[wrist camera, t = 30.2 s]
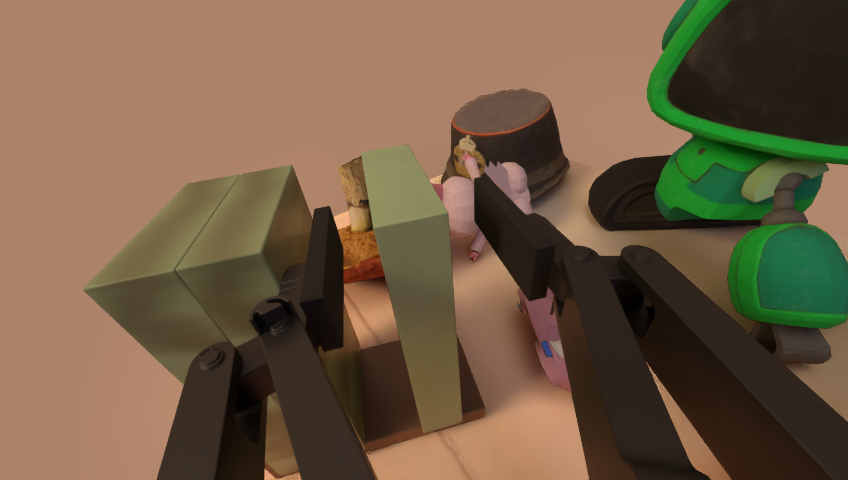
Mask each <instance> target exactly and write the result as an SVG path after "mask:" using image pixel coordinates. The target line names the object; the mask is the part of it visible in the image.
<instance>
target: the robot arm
mask: <svg viewBox="0 0 848 480" xmlns="http://www.w3.org/2000/svg"><path fill="white" fill-rule="evenodd" d="M474 222H475V223H476V224H477V226H478V227H479V229H480V230H481V232H482V233H483V235H484V236H485V238H486V239H487V241H488V242H489V244H490V245H491V246H492V248H493V249H494V251H495V252H496V254H497V255H498V257H499V258H500V260H501V261H502V263H503V264H504V265H505V267H506V268H507V270H508V271H509V273H510V274H511V276H512V277H513V279H514V280H515V282H516V283H517V285H518V286H519V287H520V289H521V290H522V292H523V293H524V295H525V296H526V298H527V299H528V301H533V300H537V299H541V298H545V297H546V295H547V290H548V287H549V289H550V290H551V291H552V292H553V294H554V296H553V301H552V306H551V310H550V315H553V313H554V311H555V316H556V321H557V326H558V331H559V335H560V340H561V345H562V350H563V355H564V359H565V364H566V369H567V374H568V379H569V383H570V388H571V393H572V398H573V403H574V407H575V412H576V417H577V422H578V427H579V432H580V436H581V441H582V446H583V451H584V456H585V460H586V465H587V470H588V475H589V480H711V479H710V478H709V477H708V476H706V475H705V474H703V473H701V472H699V471H698V470H696V469H695V468H694V467H693V465H692V464H691V462H690V460H689V459H688V456H687V454H686V452H685V450H684V447H683V445H682V443H681V441H680V438H679V436H678V434H677V431H676V429H675V427H674V425H673V422H672V420H671V418H670V415H669V413H668V411H667V409H666V406H665V404H664V402H663V399H662V397H661V395H660V393H659V390H658V388H657V386H656V384H655V381H654V379H653V377H652V374H651V372H650V370H649V368H648V365H649V366H650V367H651V369H652V370H653V371H654V373H655V374H656V376H657V377H658V378H659V380H660V381H661V383H662V384H663V385H664V387H665V388H666V389H667V391H668V392H669V394H670V395H671V396H672V398H673V399H674V400H675V402H676V403H677V405H678V406H679V407H680V409H681V410H682V412H683V413H684V414H685V416H686V417H687V418H688V420H689V421H690V423H691V424H692V425H693V427H694V428H695V429H696V431H697V432H698V434H699V435H700V436H701V438H702V439H703V440H704V442H705V443H706V445H707V446H708V447H709V449H710V450H711V452H712V453H713V454H714V456H715V457H716V458H717V460H718V461H719V463H720V464H721V465H722V467H723V468H724V469H725V471H726V472H727V474H728V475H729V476H730V478H731V479H732V480H848V422H847V421H846V420H845V419H844V418H843V417H842V416H841V415H839V414H838V413H837V412H836V411H835V410H834V409H833V408H832V407H830V406H829V405H828V404H827V403H826V402H825V401H824V400H823V399H822V398H820V397H819V396H818V395H817V394H816V393H815V392H814V391H813V390H811V389H810V388H809V387H808V386H807V385H806V384H805V383H804V382H802V381H801V380H800V379H799V378H798V377H797V376H796V375H795V374H794V373H792V372H791V371H790V370H789V369H788V368H787V367H786V366H785V365H783V364H782V363H781V362H780V361H779V360H778V359H777V358H776V357H775V356H773V355H772V354H771V353H770V352H769V351H768V350H767V349H766V348H764V347H763V346H762V345H761V344H760V343H759V342H758V341H757V340H755V339H754V338H753V337H752V336H751V335H750V334H749V333H748V332H747V331H745V330H744V329H743V328H742V327H741V326H740V325H739V324H738V323H736V322H735V321H734V320H733V319H732V318H731V317H730V316H729V315H728V314H726V313H725V312H724V311H723V310H722V309H721V308H720V307H719V306H717V305H716V304H715V303H714V302H713V301H712V300H711V299H710V298H708V297H707V296H706V295H705V294H704V293H703V292H702V291H701V290H700V289H698V288H697V287H696V286H695V285H694V284H693V283H692V282H691V281H689V280H688V279H687V278H686V277H685V276H684V275H683V274H682V273H681V272H679V271H678V270H677V269H676V268H675V267H674V266H673V265H672V264H670V263H669V262H668V261H667V260H666V259H665V258H664V257H663V256H661V255H660V254H659V253H658V252H656V251H655V250H653V249H650V248H648V247H644V246H639V245H630V246H627V247H624V248H623V249H622V250H621V253H620V256H599V255H598V254H597V252H595V251H594V250H592V249H590V248H587V247H584V246H575V245H574V244H573V243H572V242H571V241H569V240H568V239H567V238H566V237H565V236H564V235H563V234H562V233H561V232H560V231H559V230H557V228H555V227H554V226H553V225H551V223H550V222H549V221H548V220H547V219H546V218H545V217H543V216H541V215H538V214H536V213H532V214H527V215H526V214H525V213H524V212H523V211H522V210H521V209H520V208H519V207H518V206H517V205H516V204H515V203H514V202H513V201H512V200H511V199H510V198H509V197H508V196H507V195H506V194H505V193H504V192H503V191H502V190H501V189H500V188H499V187H498V186H497V185H496V184H495V183H494V182H493V181H492V180H491V179H490V178H489V177H488V176H483V177H477V178H474ZM646 298H647V299H648V300H649V301H650V302H651V303H652V305H651V304H650V303H649V302H648V301H647V300H646ZM249 321H250V323H251V324H252V326H253V327H254V329H255V330H256V332H257V333H258V336H257V337H255V338H253V339H251V340H249V341H247V342H245V343H243V344H241V345H239V346H237V347H234V346H233V345H232V344H231V343H230V342H219V343H215V344H213V345H211V346H209V347H207V348H205V349H204V350H203V351H201V352H200V353H199V354H198V355H197V356H196V357H195V358H194V359H193V361H192V362H191V364H190V366H189V369H188V373H187V376H186V379H185V383H184V386H183V390H182V393H181V397H180V400H179V404H178V407H177V411H176V414H175V418H174V421H173V425H172V428H171V432H170V435H169V439H168V442H167V446H166V449H165V453H164V456H163V460H162V463H161V466H160V470H159V473H158V477H157V480H264V470H265V448H266V425H267V403H268V396H269V395H271V394H273V393H275V392H276V394H277V397H278V400H279V404H280V407H281V411H282V414H283V418H284V421H285V424H286V428H287V431H288V435H289V438H290V442H291V445H292V448H293V452H294V455H295V459H296V462H297V466H298V469H299V472H300V476H301V479H302V480H378V479H377V477H376V475H375V472H374V470H373V468H372V466H371V464H370V462H369V460H368V458H367V455H366V453H365V451H364V449H363V447H362V445H361V443H360V441H359V438H358V436H357V434H356V432H355V430H354V428H353V426H352V424H351V421H350V419H349V417H348V415H347V413H346V411H345V409H344V407H343V404H342V402H341V400H340V398H339V396H338V394H337V392H336V389H335V387H334V385H333V383H332V381H331V379H330V377H329V375H328V372H327V370H326V368H325V366H324V364H323V362H322V360H321V358H320V356H319V345H320V346H321V348H322V350H323V352H326V351H330V350H334V349H339V348H343V347H344V248H343V245H342V242H341V239H340V236H339V233H338V230H337V227H336V224H335V221H334V218H333V215H332V212H331V209H330V206H327V207H322V208H317V209H315V210H314V215H313V221H312V228H311V234H310V240H309V246H308V252H307V258H306V262H304V263H299V264H295V265H290V266H289V268H288V269H287V270H286V271H285V273H284V274H283V278H282V282H281V286H280V292H279V294H278V296H272V297H269V298H266V299H265V300H263V301H261V302H260V303H258V304H257V305H256V306H255V307H254V308H253V309H252V311H251V313H250V315H249ZM645 360H646V361H645ZM646 362H647V363H648V365H647V363H646Z"/></svg>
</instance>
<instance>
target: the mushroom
mask: <svg viewBox="0 0 848 480" xmlns="http://www.w3.org/2000/svg"><path fill="white" fill-rule="evenodd" d="M338 170H339V174H340V177H341V181H342V184H343V188H344V191H345V195H346V199H347V205H348V210H349V214H350V221H351V225H349V226H347V227H345V228H342V229H338V233H339V236H340V239H341V242H342V245H343V248H344V284H346V283H351V282H356V281H361V280H367V279H372V278H377V277H381V276H385V274H384V270H383V266H382V262H381V258H380V254H379V250H378V245H377V241H376V237H375V233H374V229H373V223H372V217H371V211H370V205H369V199H368V193H367V187H366V181H365V175H364V169H363V163H362V157H361V156H360V157H359V158H356V159H354V160H352V161H351V162H349V163H347V164H345V165H343V166H341V167H339V168H338Z"/></svg>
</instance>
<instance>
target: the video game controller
mask: <svg viewBox="0 0 848 480" xmlns="http://www.w3.org/2000/svg"><path fill="white" fill-rule="evenodd" d="M518 294H519V297H520V304H519V303H518V302H516V307H517V310H518V311H519V312H520V313H521V314H523V311H524V312H525V313H527V315H528V316H529V318H530V320H531V323H532V326H533V328H534V331H535V334H536V336H537V339H538V341H535V347H536V351H537V354H538V357H539V360H540V363H541V365H542V367H543V369H544V371H545V373H546V375H547V377H548V378H549V380H550V382H551V383H552V385H553V386H560V387H562V388H564V389H565V390H567V391H569V392H571V388H570V383H569V379H568V374H567V369H566V364H565V359H564V355H563V350H562V345H561V340H560V335H559V331H558V326H557V321H556V316H555V311H554V313H553V315H550V310H551V306H552V301H553V296H554V294H553V292H552V291H551V290H550V289H549V288H548V290H547V295H546V297H545V298H541V299H537V300H533V301H528V299H527V298H526V296H525V295H524V293H523V292H522V290H521V289H520V288H519V289H518ZM522 310H523V311H522Z"/></svg>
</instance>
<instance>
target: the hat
mask: <svg viewBox="0 0 848 480" xmlns="http://www.w3.org/2000/svg"><path fill="white" fill-rule="evenodd" d="M465 150H466V152H467V153H468V155H469V156H472V157H473V158H475V159H476V162H477V166H478V169H479V172H480V176H481V177H483V176H488V175H487V174H486V173H485V172H484V168H485V165H486V166H487V167H488V168H489V163H490V161H491V162H492V163H493V164H494V165H495V166H496V167H497V163H498V162H499V163H500V164H503V163H505V162H514V163H517V164H518V165H519V166H521V167H522V168H523V169H524V170H525V173H526V175H527V187H528V190H529V193H530V200H531V199H533V198H535V197H537V196H540V195H541V194H542V192H544V191H545V190H547V189H549V188H551V187H552V186H553V185H555V184H557V183H558V181H559V179H560V177H562V176H563V175H564V174H565V173H566V172H567V171H568V169H569V167H570V163H569V161H568V159H567V158H566V157H565V156H564V153H563V149H562V146H561V142H560V136H559V130H558V126H557V121H556V118H555V114H554V112H553V108H552V105H551V102H550V100H549V99H548V98H547V97H546V96H545V95H544V94H541V93H539V92H533V91H530V90H527V89H520V90H508V91H506V90H504V91H500V92H496V93H494V94H488V95H482V96H479V97H477V98H476V99H475V100H473V101H470V102H468V103H467V104H466V105H464V106H463V107H462V108H460V109H459V111H457V112H456V113H455V115H454V117H453V120H452V124H451V156H450V158H449V160H448V161H447V165H446V170H445V172H444V174H443V176H442V178H441V184H443V183H444V182H445V181H446V180H448V179H449V178H451V177H454V176H456V177H463V178H468V179H470V180H471V177H470V175H469V173H468V171H467V168H466V166H465V164H464V163H465V161H464V160H463V159H462V158H464V157H463V155H462V154H464V155H466V154H465ZM461 157H462V158H461ZM489 169H490V168H489ZM490 170H491V169H490ZM491 171H492V170H491ZM488 177H489V176H488ZM489 178H490V177H489ZM490 179H491V178H490ZM491 180H492V179H491Z"/></svg>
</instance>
